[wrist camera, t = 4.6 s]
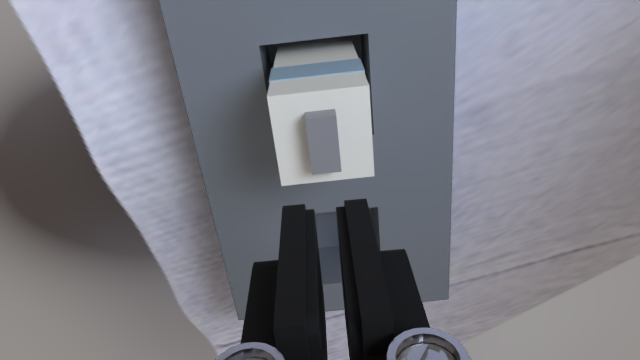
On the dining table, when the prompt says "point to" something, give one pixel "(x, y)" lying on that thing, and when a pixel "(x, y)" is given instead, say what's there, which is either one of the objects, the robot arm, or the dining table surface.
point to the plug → (320, 112)
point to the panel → (386, 117)
